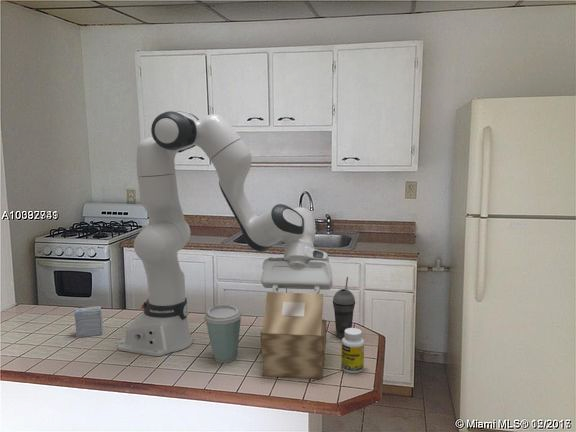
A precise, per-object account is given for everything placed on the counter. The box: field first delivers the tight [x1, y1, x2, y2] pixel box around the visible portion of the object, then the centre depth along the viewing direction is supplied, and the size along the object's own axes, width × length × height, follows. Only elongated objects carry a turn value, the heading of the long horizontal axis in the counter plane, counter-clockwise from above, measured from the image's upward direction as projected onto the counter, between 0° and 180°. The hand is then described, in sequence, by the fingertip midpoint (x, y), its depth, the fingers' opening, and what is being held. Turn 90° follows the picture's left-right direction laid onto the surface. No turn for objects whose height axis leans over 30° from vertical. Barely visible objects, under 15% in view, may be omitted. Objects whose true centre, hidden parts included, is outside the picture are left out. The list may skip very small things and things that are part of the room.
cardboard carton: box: [259, 318, 327, 380], centre depth 135 cm, size 17×12×12 cm
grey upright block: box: [74, 305, 104, 339], centre depth 159 cm, size 8×4×9 cm, turn 108°
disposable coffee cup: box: [204, 303, 242, 364], centre depth 140 cm, size 11×11×15 cm
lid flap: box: [261, 291, 324, 336], centre depth 131 cm, size 16×12×1 cm
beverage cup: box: [332, 276, 356, 340], centre depth 155 cm, size 7×7×20 cm
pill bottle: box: [340, 327, 365, 374], centre depth 133 cm, size 6×6×11 cm
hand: (295, 301), depth 134 cm, fingers open, 8 cm apart
